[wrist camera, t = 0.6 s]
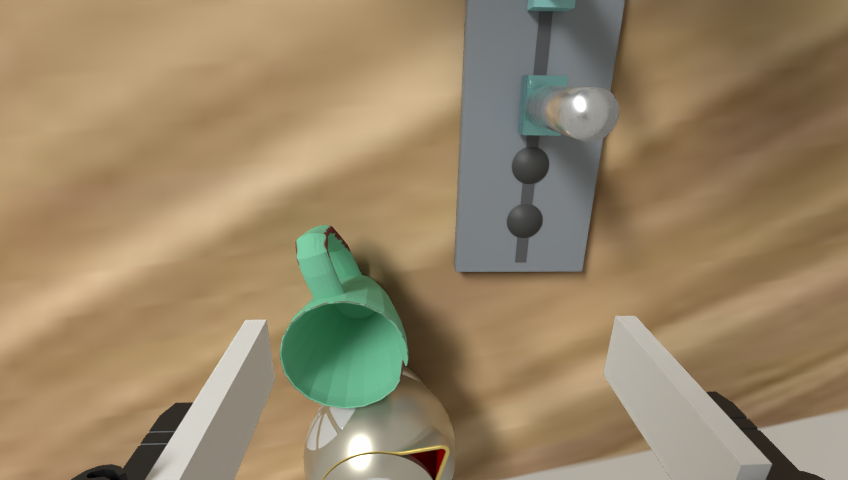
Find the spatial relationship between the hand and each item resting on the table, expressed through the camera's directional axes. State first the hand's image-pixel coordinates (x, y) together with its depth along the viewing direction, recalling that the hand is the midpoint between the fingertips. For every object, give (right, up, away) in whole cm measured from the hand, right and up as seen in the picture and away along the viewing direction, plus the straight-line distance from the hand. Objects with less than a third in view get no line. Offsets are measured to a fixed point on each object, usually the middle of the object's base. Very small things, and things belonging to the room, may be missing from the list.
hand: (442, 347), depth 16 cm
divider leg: (+9, +15, +18) cm, 25 cm away
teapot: (-6, -13, +31) cm, 34 cm away
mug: (-8, +1, +25) cm, 27 cm away
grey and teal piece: (+8, +14, +21) cm, 27 cm away
